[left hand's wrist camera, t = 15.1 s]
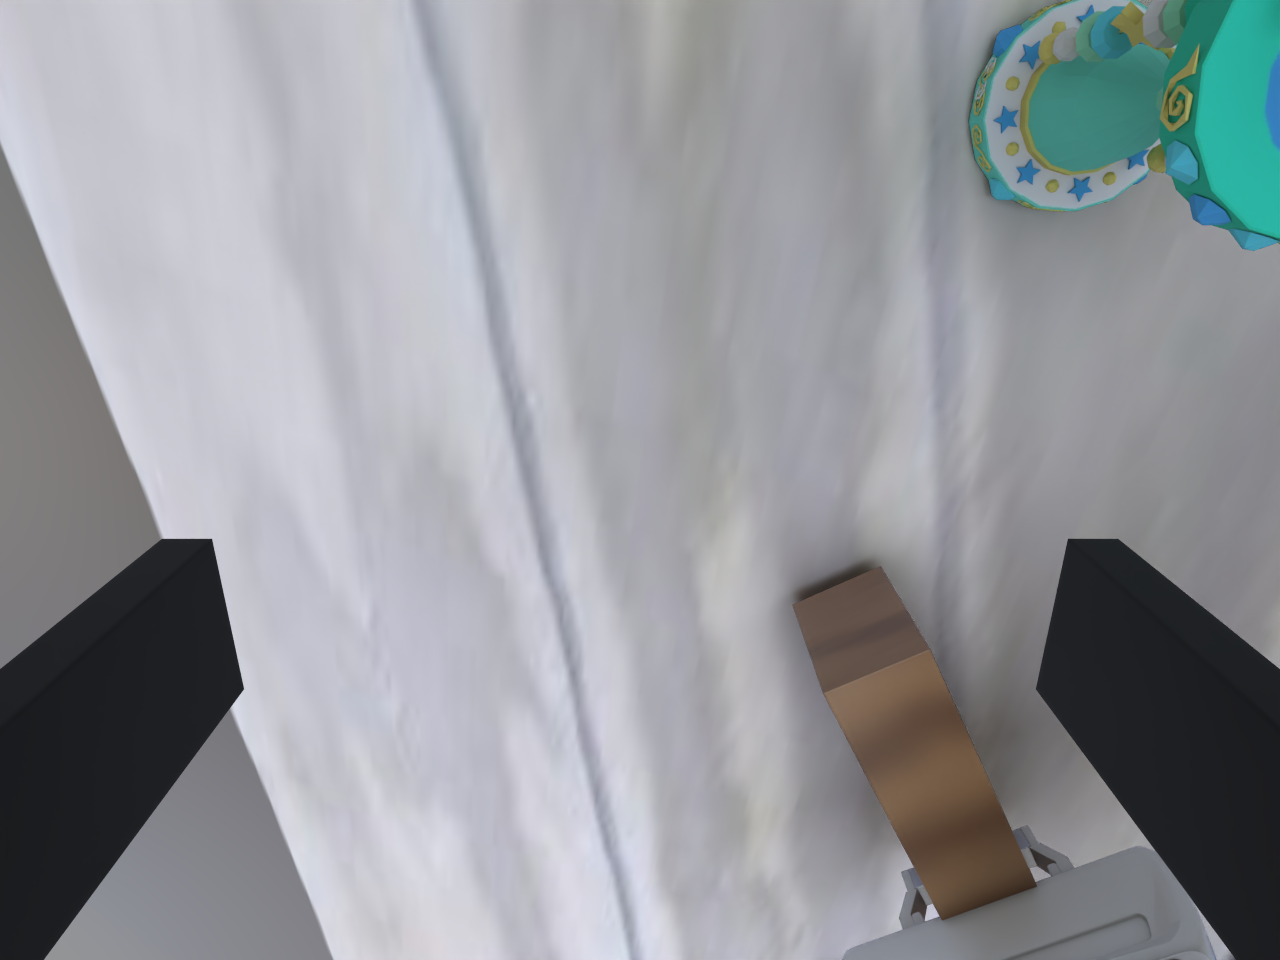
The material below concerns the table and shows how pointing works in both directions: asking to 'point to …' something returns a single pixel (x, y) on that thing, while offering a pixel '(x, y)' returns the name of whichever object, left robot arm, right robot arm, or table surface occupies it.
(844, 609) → the box
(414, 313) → the table surface
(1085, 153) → the decorative hourglass
